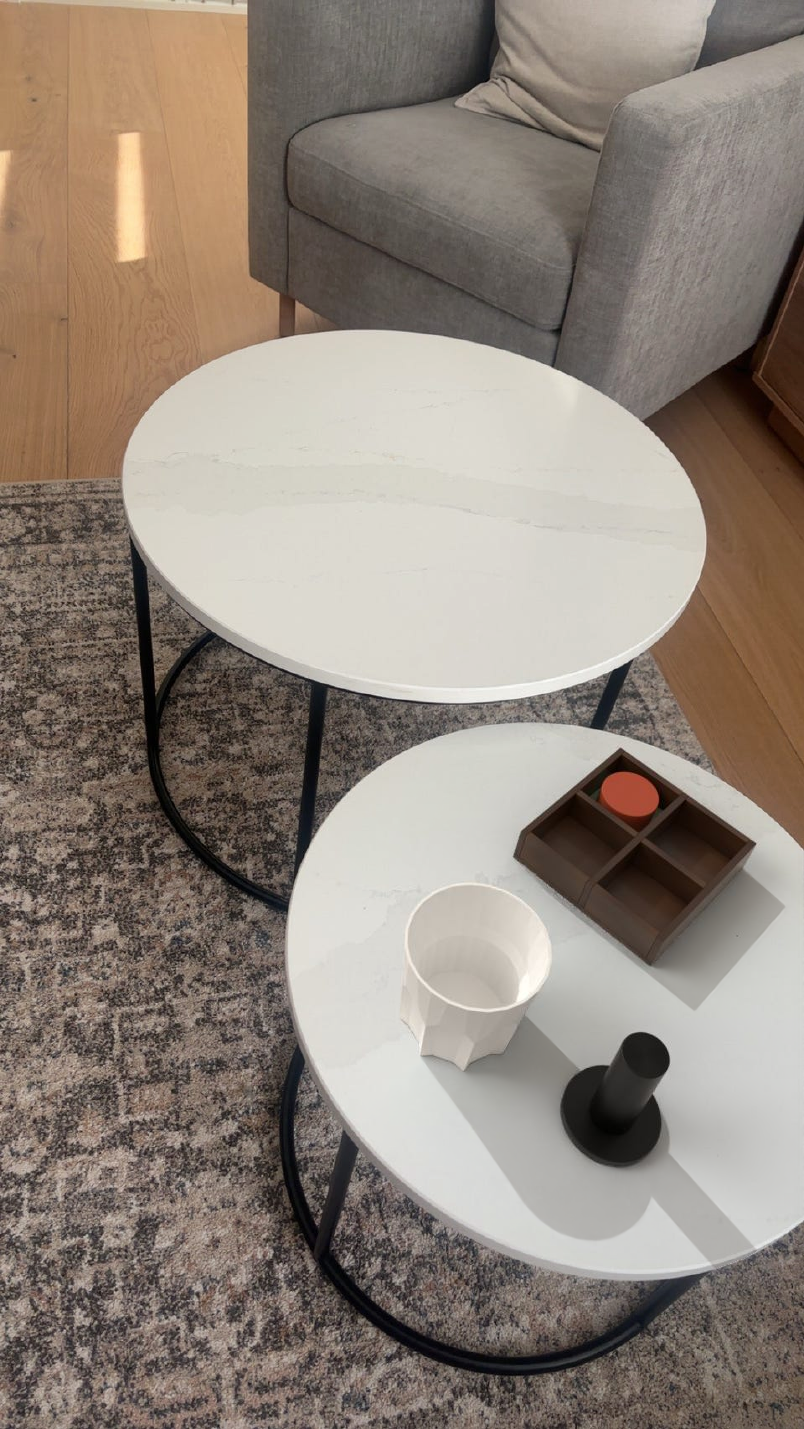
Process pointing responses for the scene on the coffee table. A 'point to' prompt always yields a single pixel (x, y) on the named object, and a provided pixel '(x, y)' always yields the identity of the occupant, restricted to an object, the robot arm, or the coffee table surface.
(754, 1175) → the coffee table surface
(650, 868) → the grid
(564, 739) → the coffee table surface
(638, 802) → the token
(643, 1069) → the stand
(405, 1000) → the cup
